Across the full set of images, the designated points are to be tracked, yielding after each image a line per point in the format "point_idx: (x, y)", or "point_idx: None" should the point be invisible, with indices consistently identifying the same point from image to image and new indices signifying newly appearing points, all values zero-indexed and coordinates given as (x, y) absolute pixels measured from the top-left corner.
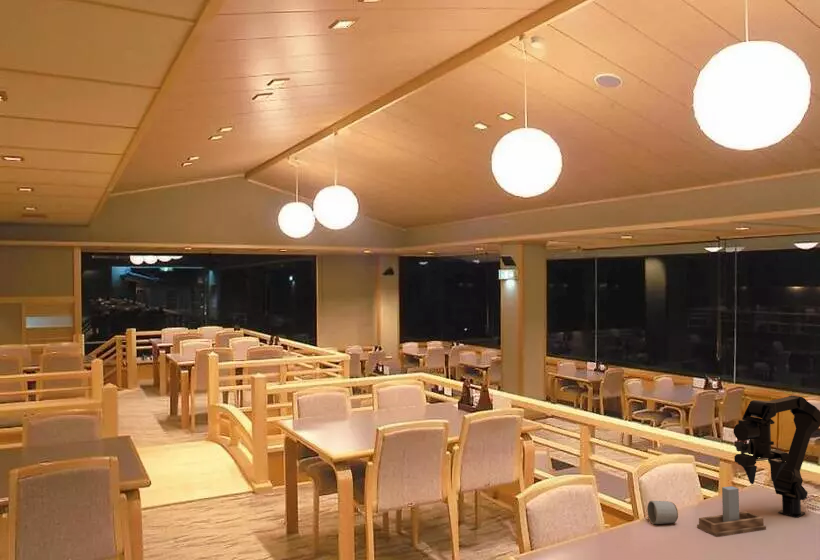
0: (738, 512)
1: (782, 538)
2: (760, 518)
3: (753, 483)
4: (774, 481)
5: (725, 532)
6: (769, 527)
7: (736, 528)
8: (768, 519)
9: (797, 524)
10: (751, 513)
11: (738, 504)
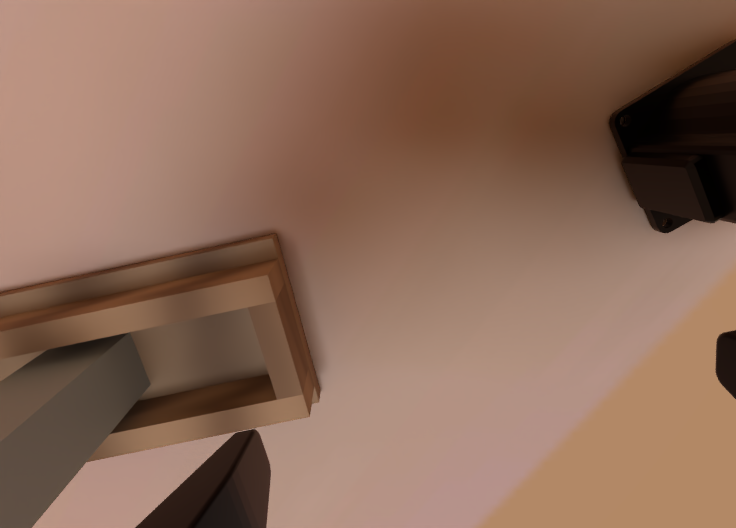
0: (89, 451)
1: (331, 504)
2: (283, 421)
3: (265, 485)
4: (727, 375)
5: None
6: (361, 362)
7: None
8: (447, 231)
9: (563, 335)
10: (273, 325)
11: (44, 506)
